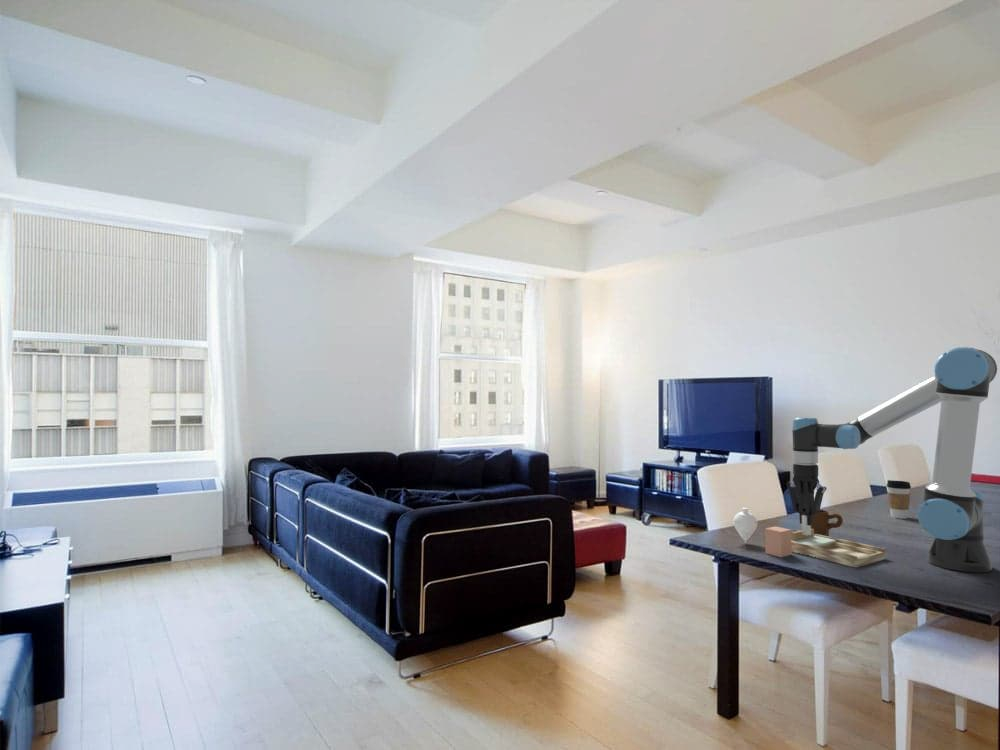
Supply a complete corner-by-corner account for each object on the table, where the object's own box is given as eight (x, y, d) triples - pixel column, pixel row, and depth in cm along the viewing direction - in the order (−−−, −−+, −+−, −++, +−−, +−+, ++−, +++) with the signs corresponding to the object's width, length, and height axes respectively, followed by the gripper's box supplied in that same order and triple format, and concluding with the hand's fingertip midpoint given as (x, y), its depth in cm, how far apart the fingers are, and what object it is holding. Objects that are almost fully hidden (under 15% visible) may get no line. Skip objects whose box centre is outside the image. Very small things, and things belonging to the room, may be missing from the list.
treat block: (791, 554, 189) (791, 529, 189) (781, 557, 186) (780, 531, 186) (775, 550, 194) (775, 526, 194) (765, 553, 191) (765, 528, 191)
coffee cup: (882, 515, 248) (881, 479, 248) (900, 514, 249) (900, 479, 249) (897, 519, 239) (897, 482, 240) (916, 519, 240) (916, 482, 241)
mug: (844, 538, 210) (844, 511, 210) (841, 542, 204) (840, 515, 204) (807, 533, 217) (807, 507, 217) (802, 537, 211) (802, 511, 211)
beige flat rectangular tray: (885, 558, 184) (885, 548, 184) (856, 567, 175) (855, 556, 175) (794, 538, 210) (794, 529, 210) (764, 545, 201) (764, 535, 201)
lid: (836, 541, 196) (836, 532, 196) (810, 548, 188) (810, 538, 188) (796, 533, 208) (796, 524, 208) (770, 538, 200) (770, 529, 200)
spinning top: (728, 541, 205) (728, 507, 206) (745, 539, 208) (745, 505, 209) (745, 547, 198) (744, 511, 199) (762, 544, 201) (762, 509, 201)
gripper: (831, 465, 194) (832, 537, 194) (793, 460, 205) (794, 529, 205) (818, 466, 190) (819, 540, 190) (780, 462, 201) (781, 532, 201)
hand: (806, 534), depth 197 cm, fingers closed
